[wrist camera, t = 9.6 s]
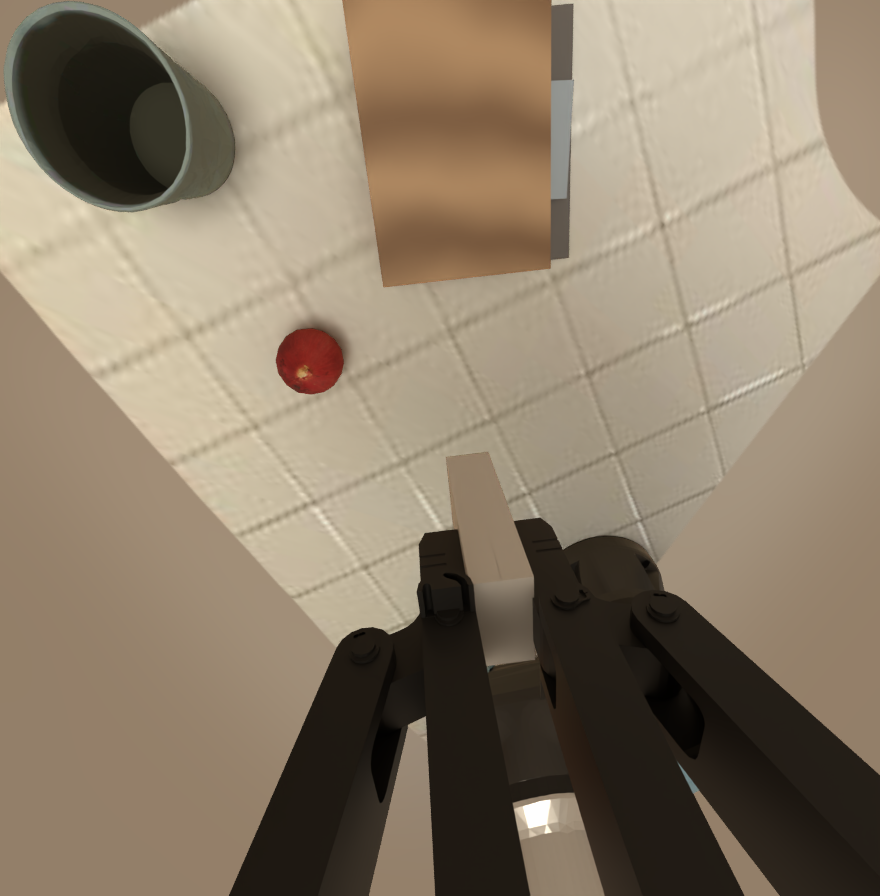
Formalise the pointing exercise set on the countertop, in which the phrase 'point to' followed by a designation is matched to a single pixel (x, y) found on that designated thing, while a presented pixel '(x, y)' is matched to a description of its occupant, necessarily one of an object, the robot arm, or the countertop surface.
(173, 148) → the grey-green tapered bin
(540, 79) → the brown flat-topped block
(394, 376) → the countertop surface
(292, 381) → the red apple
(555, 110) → the box
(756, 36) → the countertop surface
